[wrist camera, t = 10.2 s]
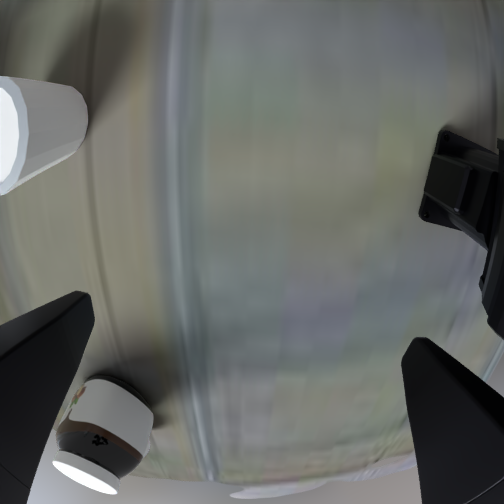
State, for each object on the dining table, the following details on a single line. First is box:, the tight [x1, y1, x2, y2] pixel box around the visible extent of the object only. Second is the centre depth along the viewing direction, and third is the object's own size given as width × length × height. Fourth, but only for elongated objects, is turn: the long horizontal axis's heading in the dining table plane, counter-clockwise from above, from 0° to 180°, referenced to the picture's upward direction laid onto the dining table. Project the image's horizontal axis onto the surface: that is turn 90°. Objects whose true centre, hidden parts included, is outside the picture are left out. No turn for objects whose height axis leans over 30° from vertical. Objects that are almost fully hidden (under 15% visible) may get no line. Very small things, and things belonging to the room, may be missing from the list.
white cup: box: [0, 76, 88, 195], centre depth 13 cm, size 7×7×7 cm
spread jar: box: [53, 375, 153, 494], centre depth 24 cm, size 12×11×12 cm
